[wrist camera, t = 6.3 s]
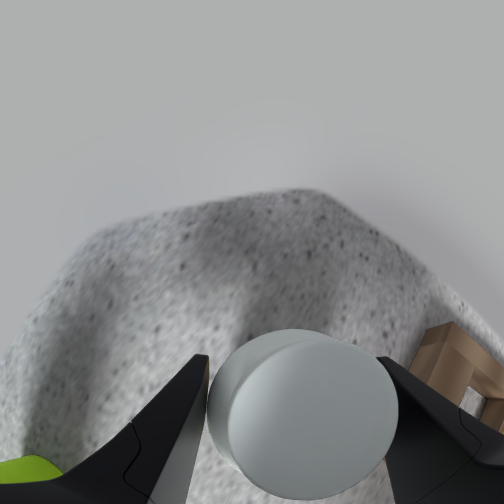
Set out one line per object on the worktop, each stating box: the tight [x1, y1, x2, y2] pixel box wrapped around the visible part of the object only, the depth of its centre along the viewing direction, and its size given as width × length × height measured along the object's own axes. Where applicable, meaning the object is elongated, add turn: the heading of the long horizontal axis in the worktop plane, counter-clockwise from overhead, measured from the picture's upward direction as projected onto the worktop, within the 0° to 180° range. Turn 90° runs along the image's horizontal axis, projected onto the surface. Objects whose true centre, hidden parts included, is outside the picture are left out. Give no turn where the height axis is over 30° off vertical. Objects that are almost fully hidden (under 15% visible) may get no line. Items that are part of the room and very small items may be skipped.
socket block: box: [383, 321, 504, 461], centre depth 12 cm, size 14×10×3 cm
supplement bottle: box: [206, 329, 398, 500], centre depth 9 cm, size 5×5×10 cm
